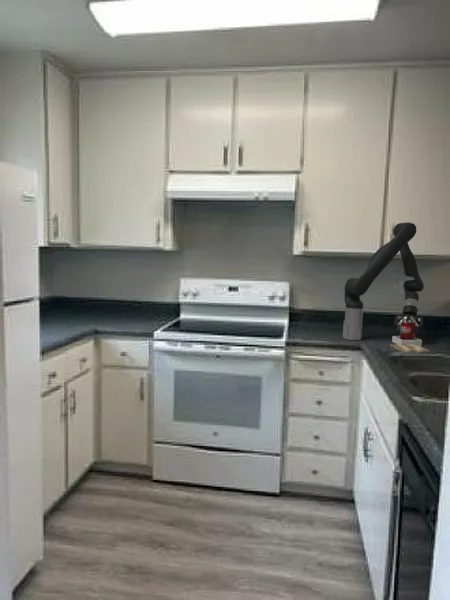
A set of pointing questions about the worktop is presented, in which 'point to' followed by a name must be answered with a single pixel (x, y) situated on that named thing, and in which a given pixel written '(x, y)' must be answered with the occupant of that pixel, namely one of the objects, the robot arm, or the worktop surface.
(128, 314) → the worktop surface
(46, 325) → the worktop surface
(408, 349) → the trivet
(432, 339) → the worktop surface
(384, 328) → the worktop surface
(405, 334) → the soda can
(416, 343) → the can collar
